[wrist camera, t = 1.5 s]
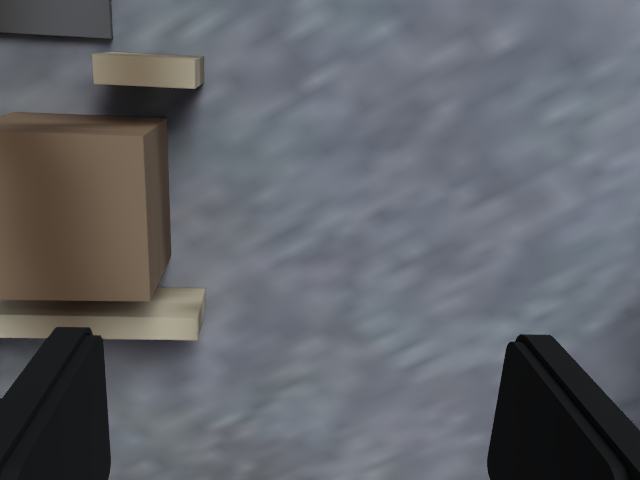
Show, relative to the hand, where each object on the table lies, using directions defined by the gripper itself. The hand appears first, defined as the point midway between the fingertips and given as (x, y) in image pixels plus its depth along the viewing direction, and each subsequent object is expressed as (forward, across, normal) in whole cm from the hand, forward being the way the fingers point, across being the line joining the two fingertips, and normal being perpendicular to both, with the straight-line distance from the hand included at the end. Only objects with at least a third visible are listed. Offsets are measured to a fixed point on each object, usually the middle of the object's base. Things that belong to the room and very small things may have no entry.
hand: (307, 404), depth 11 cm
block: (+16, +8, 0) cm, 18 cm away
